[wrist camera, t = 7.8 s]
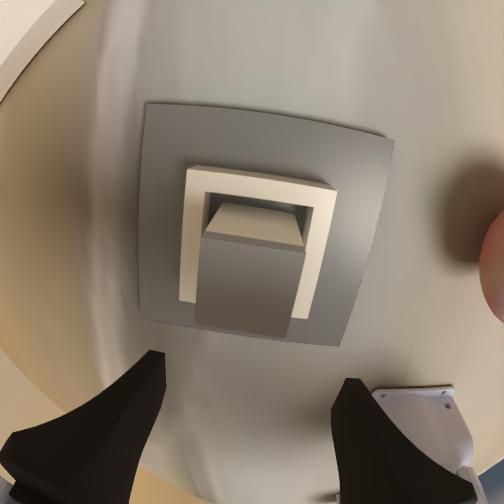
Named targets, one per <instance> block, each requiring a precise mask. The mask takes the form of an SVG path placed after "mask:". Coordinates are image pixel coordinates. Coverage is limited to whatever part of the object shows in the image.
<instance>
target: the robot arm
mask: <svg viewBox="0 0 504 504" xmlns="http://www.w3.org/2000/svg"><path fill="white" fill-rule="evenodd" d="M165 391H166V369H165V353H162V352H158V351H153V350H149V351H148V352H147V353H146V354H145V355H144V356H143V357H142V358H141V359H140V360H139V361H138V362H137V363H135V364H134V365H133V366H132V367H131V368H130V369H129V370H128V371H127V372H126V373H125V374H123V375H122V376H121V377H120V378H119V379H118V380H116V381H115V382H114V383H113V384H112V385H110V386H109V387H108V388H106V389H105V390H104V391H102V392H101V393H100V394H98V395H97V396H96V397H94V398H93V399H91V400H90V401H88V402H86V403H85V404H83V405H82V406H80V407H78V408H76V409H74V410H73V411H71V412H69V413H67V414H65V415H63V416H61V417H59V418H56V419H54V420H51V421H49V422H47V423H44V424H41V425H38V426H36V427H32V428H28V429H24V430H21V431H17V432H13V433H12V434H11V435H10V437H9V438H8V439H7V441H6V442H5V444H4V446H3V448H2V449H1V451H0V463H1V465H2V466H3V467H4V468H5V469H6V470H7V471H8V473H9V474H10V475H11V476H12V477H13V478H14V479H15V480H16V481H15V483H14V485H12V484H11V483H9V482H8V481H7V480H5V479H4V478H2V477H1V476H0V504H129V499H130V494H131V490H132V486H133V482H134V478H135V474H136V470H137V467H138V463H139V460H140V457H141V454H142V451H143V449H144V446H145V444H146V442H147V439H148V437H149V435H150V432H151V430H152V427H153V425H154V423H155V420H156V418H157V416H158V413H159V411H160V408H161V405H162V401H163V398H164V394H165ZM454 391H455V388H454V387H453V386H448V387H434V388H413V389H377V390H375V391H373V393H372V394H371V393H370V392H369V390H368V389H367V388H366V386H365V385H364V384H363V382H362V381H361V380H360V379H356V378H346V379H345V381H344V384H343V386H342V388H341V390H340V392H339V394H338V396H337V398H336V400H335V402H334V404H333V406H332V408H331V428H332V436H333V442H334V448H335V454H336V460H337V466H338V472H339V480H340V504H488V502H487V499H486V496H485V494H484V491H483V488H482V486H481V483H480V481H479V479H478V477H477V475H476V473H475V471H474V469H473V468H472V467H469V465H470V463H471V460H472V457H473V440H472V436H471V434H470V432H469V430H468V428H467V426H466V423H465V421H464V419H463V417H462V415H461V413H460V411H459V409H458V408H457V406H456V404H455V402H454V400H453V398H452V394H453V393H454Z"/></svg>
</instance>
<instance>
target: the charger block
mask: <svg viewBox="0 0 504 504" xmlns="http://www.w3.org/2000/svg"><path fill="white" fill-rule="evenodd" d="M305 257H306V251H305V248H304V244H303V241H302V238H301V234H300V231H299V227H298V224H297V221H296V217H295V214H294V213H289V212H283V211H277V210H271V209H265V208H258V207H252V206H245V205H239V204H232V203H225V202H223V203H222V205H221V206H220V208H219V209H218V211H217V212H216V214H215V216H214V217H213V219H212V220H211V222H210V224H209V225H208V227H207V228H206V230H205V231H204V233H203V235H202V236H201V241H200V252H199V263H198V276H197V289H196V303H195V319H194V324H196V325H202V326H208V327H213V328H219V329H225V330H231V331H238V332H244V333H251V334H258V335H265V336H272V337H280V338H286V335H287V331H288V327H289V323H290V319H291V315H292V311H293V307H294V303H295V299H296V295H297V291H298V287H299V283H300V279H301V274H302V270H303V266H304V262H305Z"/></svg>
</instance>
